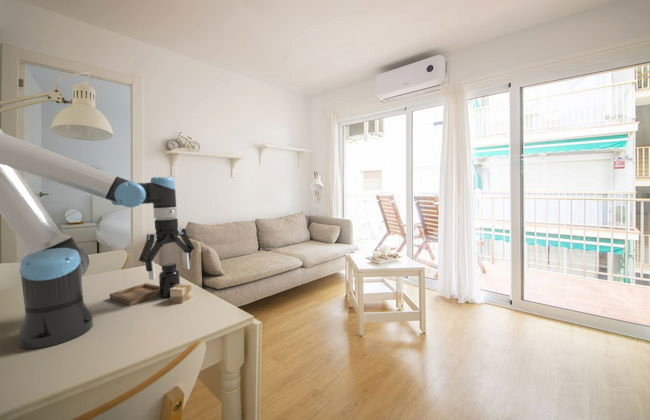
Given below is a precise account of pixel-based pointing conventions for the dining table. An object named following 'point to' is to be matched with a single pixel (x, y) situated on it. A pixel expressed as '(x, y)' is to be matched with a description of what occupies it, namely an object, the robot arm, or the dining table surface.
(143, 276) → the dining table surface
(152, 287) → the walnut tray
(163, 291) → the supplement bottle
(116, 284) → the dining table surface
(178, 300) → the oak block
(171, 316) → the dining table surface
